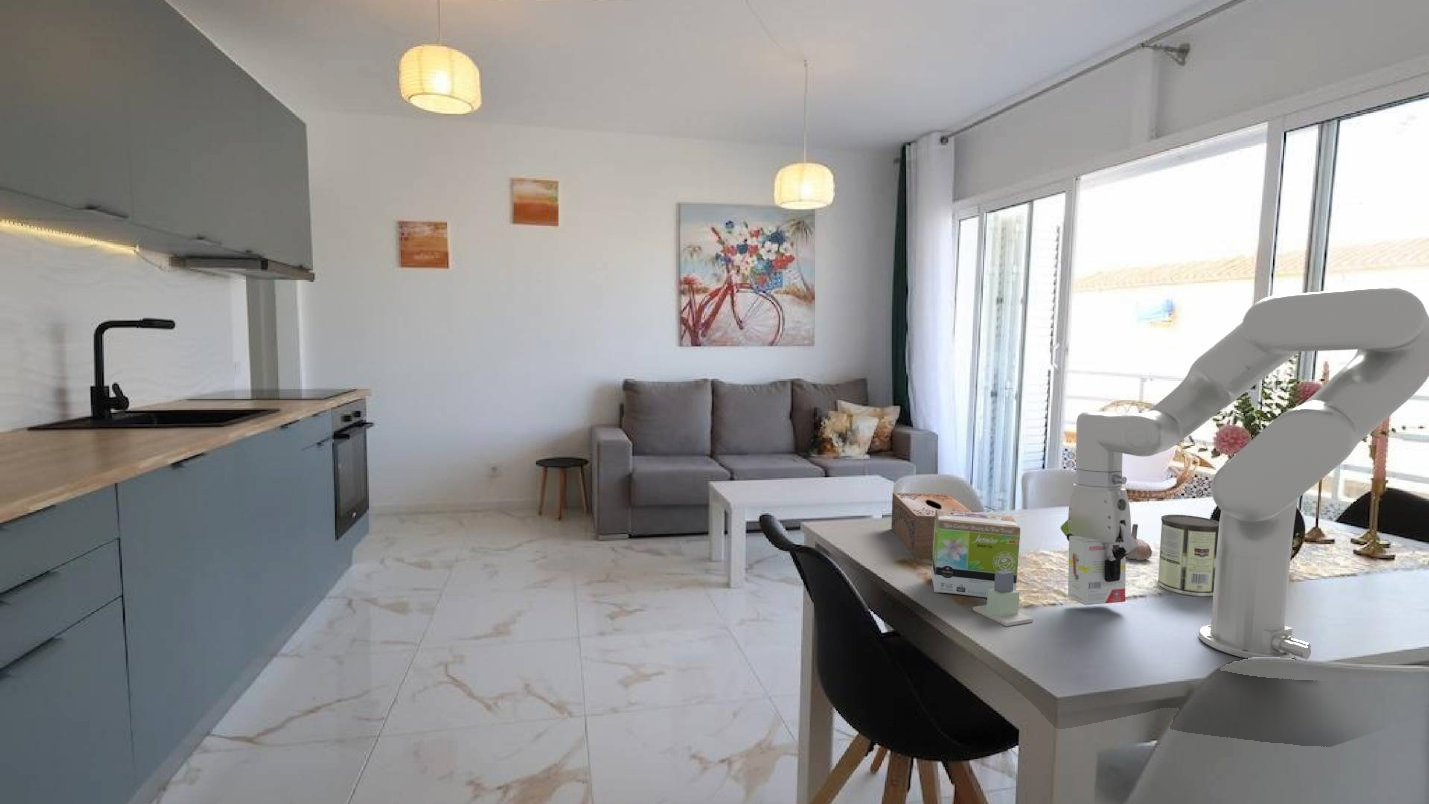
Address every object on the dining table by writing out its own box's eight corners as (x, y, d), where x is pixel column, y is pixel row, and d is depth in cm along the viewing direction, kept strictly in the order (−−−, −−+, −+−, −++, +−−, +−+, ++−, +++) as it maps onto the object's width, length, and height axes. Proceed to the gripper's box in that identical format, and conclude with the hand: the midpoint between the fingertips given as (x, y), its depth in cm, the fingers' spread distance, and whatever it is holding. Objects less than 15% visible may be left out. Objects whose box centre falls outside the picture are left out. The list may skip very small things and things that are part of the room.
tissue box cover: (891, 530, 188) (892, 492, 187) (946, 531, 187) (948, 494, 186) (914, 559, 162) (916, 515, 161) (978, 561, 162) (980, 517, 161)
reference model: (1032, 621, 125) (1035, 577, 124) (1006, 626, 123) (1008, 580, 122) (998, 606, 132) (1000, 563, 132) (972, 610, 130) (975, 567, 129)
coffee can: (1182, 578, 151) (1187, 513, 150) (1230, 594, 142) (1235, 525, 140) (1144, 581, 149) (1149, 515, 147) (1189, 598, 139) (1195, 527, 138)
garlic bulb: (1121, 551, 172) (1124, 518, 171) (1156, 558, 166) (1158, 524, 166) (1111, 557, 166) (1113, 523, 166) (1146, 564, 161) (1148, 529, 161)
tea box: (933, 594, 138) (937, 519, 137) (930, 578, 148) (934, 508, 147) (1016, 602, 135) (1021, 525, 134) (1008, 585, 144) (1012, 513, 143)
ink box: (1107, 594, 135) (1108, 532, 134) (1126, 602, 130) (1128, 538, 130) (1066, 596, 134) (1067, 534, 133) (1084, 605, 129) (1085, 540, 128)
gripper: (1157, 484, 124) (1154, 586, 125) (1073, 471, 140) (1071, 562, 141) (1127, 487, 121) (1125, 592, 122) (1045, 474, 137) (1043, 566, 138)
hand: (1096, 575), depth 132 cm, fingers closed on ink box, 5 cm apart
